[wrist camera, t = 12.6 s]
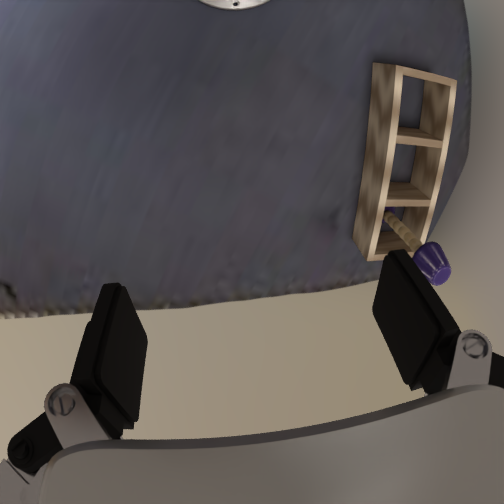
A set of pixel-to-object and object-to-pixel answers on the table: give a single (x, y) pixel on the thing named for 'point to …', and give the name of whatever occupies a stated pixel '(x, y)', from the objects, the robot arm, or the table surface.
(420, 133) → the rack
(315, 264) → the table surface
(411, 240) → the toy lamp
